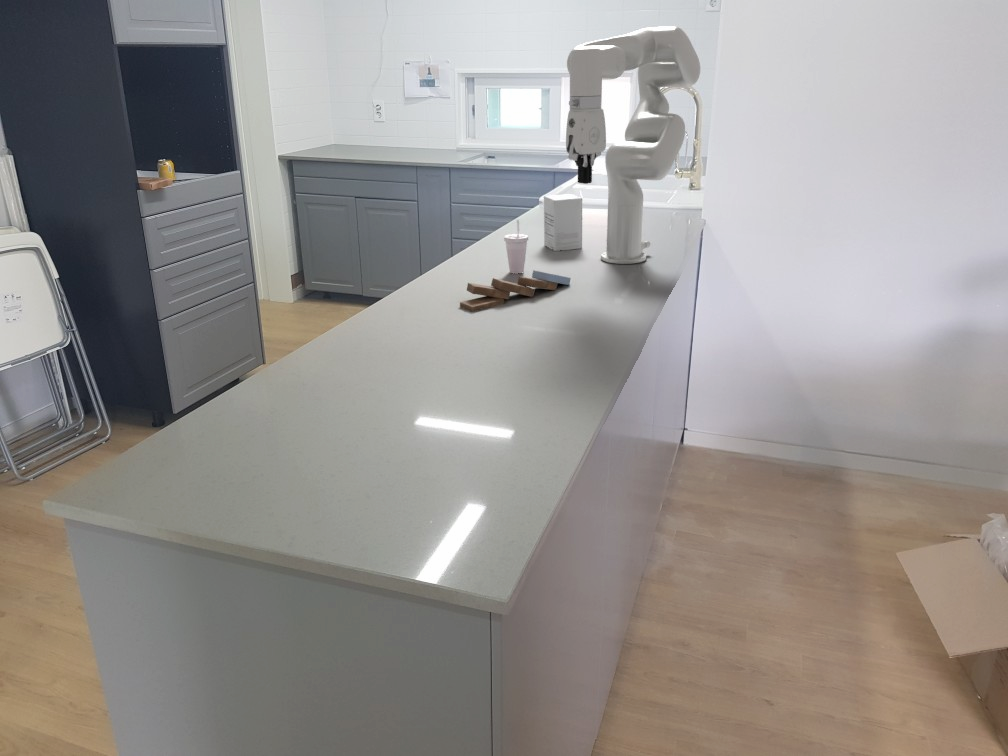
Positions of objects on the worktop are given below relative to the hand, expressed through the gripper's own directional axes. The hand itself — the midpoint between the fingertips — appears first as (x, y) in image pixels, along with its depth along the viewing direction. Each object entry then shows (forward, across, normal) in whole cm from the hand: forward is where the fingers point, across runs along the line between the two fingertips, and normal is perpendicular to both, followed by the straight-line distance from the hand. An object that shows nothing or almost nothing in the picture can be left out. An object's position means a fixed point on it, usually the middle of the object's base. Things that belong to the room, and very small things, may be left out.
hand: (584, 182), depth 192 cm
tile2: (+23, -13, 0) cm, 27 cm away
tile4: (+23, -26, +1) cm, 35 cm away
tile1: (+23, -8, +1) cm, 24 cm away
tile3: (+23, -21, -1) cm, 31 cm away
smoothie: (+24, -8, +17) cm, 30 cm away
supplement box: (+25, +22, +28) cm, 43 cm away
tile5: (+24, -30, +1) cm, 38 cm away
